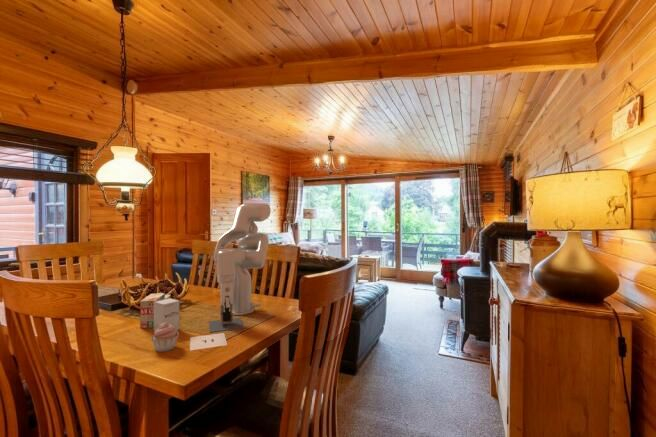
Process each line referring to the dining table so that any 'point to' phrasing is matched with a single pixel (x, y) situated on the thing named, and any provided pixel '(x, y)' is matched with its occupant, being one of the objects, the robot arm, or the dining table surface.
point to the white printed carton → (150, 309)
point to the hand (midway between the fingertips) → (226, 318)
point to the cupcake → (165, 337)
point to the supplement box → (166, 313)
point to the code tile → (207, 341)
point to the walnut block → (223, 311)
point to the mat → (225, 325)
